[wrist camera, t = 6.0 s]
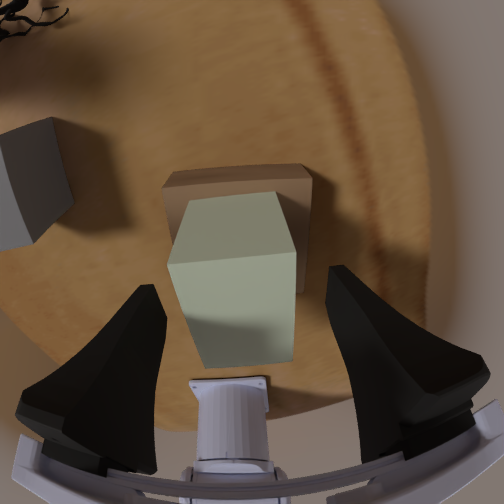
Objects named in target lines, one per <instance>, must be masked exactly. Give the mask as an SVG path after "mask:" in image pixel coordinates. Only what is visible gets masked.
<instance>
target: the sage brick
mask: <svg viewBox="0 0 504 504" xmlns="http://www.w3.org/2000/svg"><path fill="white" fill-rule="evenodd" d="M167 267H168V270H169V273H170V276H171V279H172V282H173V285H174V288H175V291H176V294H177V297H178V299H179V302H180V305H181V308H182V311H183V313H184V316H185V319H186V322H187V324H188V327H189V330H190V332H191V335H192V337H193V340H194V342H195V345H196V347H197V350H198V352H199V355H200V357H201V360H202V362H203V365H204V367H205V368H226V367H241V366H254V365H264V364H274V363H282V362H290V361H293V343H294V322H295V293H296V250H295V247H294V244H293V241H292V238H291V235H290V232H289V229H288V226H287V223H286V220H285V217H284V215H283V212H282V209H281V206H280V203H279V201H278V198H277V195H276V192H275V191H273V192H262V193H251V194H241V195H231V196H222V197H214V198H206V199H198V200H190V201H189V203H188V206H187V208H186V211H185V214H184V216H183V219H182V222H181V225H180V227H179V230H178V233H177V236H176V239H175V242H174V245H173V248H172V251H171V254H170V257H169V260H168V263H167Z"/></svg>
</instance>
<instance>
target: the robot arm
mask: <svg viewBox="0 0 504 504" xmlns="http://www.w3.org/2000/svg"><path fill="white" fill-rule="evenodd" d="M325 304H326V308H327V312H328V317H329V321H330V324H331V327H332V330H333V332H334V335H335V338H336V341H337V343H338V346H339V349H340V351H341V354H342V357H343V360H344V362H345V365H346V368H347V372H348V375H349V379H350V384H351V388H352V393H353V398H354V403H355V409H356V414H357V422H358V429H359V438H360V448H361V461H362V464H361V465H358V466H354V467H350V468H346V469H342V470H337V471H333V472H328V473H323V474H318V475H313V476H307V477H301V478H293V479H288V478H287V475H286V473H285V472H284V471H283V470H281V468H279V467H274V464H273V461H270V460H269V449H268V437H267V426H266V415H265V413H267V412H269V405H268V396H267V387H266V378H265V377H262V376H260V377H248V378H234V379H214V380H191V381H189V386H190V387H191V389H192V391H193V392H194V394H195V396H196V397H197V399H198V401H199V417H198V441H197V461H194V467H187V468H186V469H185V470H184V471H183V472H182V474H181V478H180V481H178V480H169V479H161V478H155V477H147V476H142V475H137V474H131V473H128V472H132V473H142V474H148V475H152V474H154V473H155V472H156V471H157V464H156V454H155V441H154V404H155V390H156V383H157V377H158V372H159V368H160V363H161V358H162V353H163V349H164V344H165V339H166V329H167V316H166V314H165V311H164V309H163V306H162V304H161V302H160V299H159V297H158V294H157V292H156V289H155V287H154V284H146V285H140V286H139V287H138V288H137V289H136V290H135V292H134V293H133V294H132V295H131V296H130V297H129V298H128V300H127V301H126V302H125V303H124V304H123V306H122V307H121V308H120V309H119V310H118V311H117V313H116V314H115V315H114V316H113V317H112V318H111V320H110V321H109V322H108V323H107V324H106V325H105V326H104V327H103V328H102V329H101V331H100V332H99V333H98V334H97V335H96V336H95V337H94V338H93V339H92V340H91V341H90V342H89V343H88V344H87V345H86V346H85V347H84V348H83V349H82V350H81V351H79V352H78V353H77V354H76V355H75V356H74V357H72V358H71V359H70V360H69V361H67V362H66V363H65V364H64V365H63V366H61V367H60V368H59V369H57V370H56V371H54V372H53V373H52V374H50V375H49V376H47V377H46V378H44V379H42V380H41V381H39V382H37V383H36V384H34V385H32V386H30V387H28V388H27V389H25V390H23V392H22V395H21V398H20V401H19V404H18V407H17V410H16V413H15V416H16V418H17V419H18V420H19V421H20V422H21V423H23V424H24V425H26V426H27V427H28V428H30V429H31V430H32V431H34V432H35V433H37V434H38V435H40V436H41V437H43V438H44V443H41V442H39V441H37V440H35V439H33V438H31V437H29V436H27V435H24V434H21V436H20V440H19V443H18V447H17V452H16V456H15V461H14V466H13V471H12V479H13V480H15V481H16V482H18V483H19V484H21V485H22V486H24V487H25V488H27V489H28V490H30V491H31V492H33V493H34V494H36V495H37V496H39V497H40V498H42V499H44V500H45V501H47V502H48V503H50V504H291V496H298V495H305V494H311V493H317V492H321V491H327V490H331V489H335V488H340V487H344V486H348V485H352V484H355V483H359V482H363V481H366V480H369V479H371V480H370V481H369V482H368V484H367V485H366V486H363V487H359V488H356V489H353V490H349V491H345V492H341V493H338V494H335V495H333V496H329V497H327V498H326V501H327V504H440V503H442V502H443V501H445V500H446V499H447V498H449V497H451V496H452V495H454V494H455V493H457V492H458V491H459V490H461V489H462V488H463V487H465V486H466V485H468V484H469V483H470V482H471V481H473V480H474V479H475V478H476V477H478V476H479V475H480V474H482V473H483V472H484V471H485V470H487V469H488V468H489V467H490V466H491V465H493V464H494V463H495V462H496V461H498V459H500V458H501V457H502V456H503V455H504V414H503V411H502V409H501V407H500V404H499V402H498V400H497V399H494V400H493V401H491V402H490V403H488V404H487V405H485V406H484V407H482V408H481V409H479V410H478V411H476V412H475V413H473V414H472V412H471V410H470V409H471V408H472V407H473V402H472V400H471V398H472V397H473V396H474V395H475V394H476V393H477V392H478V391H479V390H480V389H481V388H482V387H483V386H484V385H485V384H486V383H487V381H488V380H489V378H490V371H489V369H488V367H487V365H486V364H485V362H484V360H483V358H482V357H481V355H479V354H476V353H474V352H471V351H468V350H465V349H462V348H460V347H458V346H455V345H453V344H451V343H449V342H447V341H445V340H443V339H441V338H439V337H437V336H435V335H433V334H431V333H430V332H428V331H426V330H424V329H423V328H421V327H419V326H418V325H416V324H415V323H413V322H412V321H410V320H409V319H407V318H406V317H404V316H403V315H402V314H400V313H399V312H397V311H396V310H395V309H394V308H392V307H391V306H390V305H388V304H387V303H386V302H385V301H383V300H382V299H381V298H380V297H379V296H378V295H376V294H375V293H374V292H373V291H372V290H371V289H370V288H368V287H367V286H366V285H365V284H364V283H363V282H362V281H361V280H360V279H359V278H357V277H356V276H355V275H354V274H353V273H352V272H351V271H350V270H349V269H348V268H347V267H345V266H344V265H337V266H329V274H328V284H327V293H326V301H325ZM141 491H142V492H141ZM143 492H147V493H153V494H158V495H165V496H173V497H179V503H174V502H169V501H164V500H158V499H153V498H147V497H146V496H145V494H144V493H143Z"/></svg>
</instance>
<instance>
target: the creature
mask: <svg viewBox="0 0 504 504" xmlns="http://www.w3.org/2000/svg"><path fill="white" fill-rule="evenodd" d="M28 1H29V0H13V1H12V2H10V3H9V4H7V5H5V6H3V7H1V8H0V15H3V14H5V16H4V18H3V19H2V20H0V24H1V22H2V21H3V20H7V21H17V20H24V21H26V22H27V23H29V24H31V25H32V26H31V27H33V26H48V25H51V24H53V23H55V22H57V21H58V20H60V19H61V18H63V17H64V16H65V15H66V14H67V12H68V10H69V9H68V8H67V10H66V12H65V13H64V15H62V16H61V17H59V18H58V19H56V20H55V21H53V22H39V23H35V22H34V21H32V20H31V19H29V18H28V17H26V16H18V17H13V16H14V14H15V12H18V11H21V10H22V9H24V8H25V7H26V6H27V4H28ZM1 4H2V0H1V2H0V6H1ZM58 7H59V6H55V7H51V8H44V7H43V8H42V13H43V12H44V10H46V9H52V8H58ZM43 9H44V10H43ZM11 13H13V14H11ZM10 14H11V15H10ZM41 15H42V14H41ZM40 18H41V17H40ZM38 21H39V20H38ZM31 27H30V28H29V29H28V30H27V31H26V32H18V33H15V34H12V35H9V34H10V33H9V32H8V31H7V30H3V29H1V27H0V41H2V40H3V39H5V38H8V37H13V36H25V35H26V34H27V33H28V32H29V31H30V29H31Z"/></svg>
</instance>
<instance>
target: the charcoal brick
mask: <svg viewBox="0 0 504 504" xmlns="http://www.w3.org/2000/svg"><path fill="white" fill-rule="evenodd" d="M73 204H74V200H73V197H72V193H71V190H70V187H69V184H68V181H67V177H66V174H65V170H64V167H63V163H62V159H61V155H60V151H59V147H58V143H57V139H56V134H55V130H54V125H53V120H52V117H49V118H46V119H42V120H39V121H36V122H33V123H30V124H27V125H25V126H22V127H19V128H16V129H14V130H11V131H9V132H6V133H4V134H1V135H0V251H4V250H9V249H13V248H18V247H22V246H27V245H31V244H34V243H35V242H36V241H37V240H38V239H39V238H40V237H41V236H42V234H43V233H44V232H45V231H46V230H47V229H48V228H49V227H50V226H51V225H52V224H53V223H54V222H55V221H56V220H57V219H58V218H59V217H60V216H62V215H63V214H64V213H65V212H66V211H67V210H68V209H69V208H70V207H71V206H72V205H73Z"/></svg>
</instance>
